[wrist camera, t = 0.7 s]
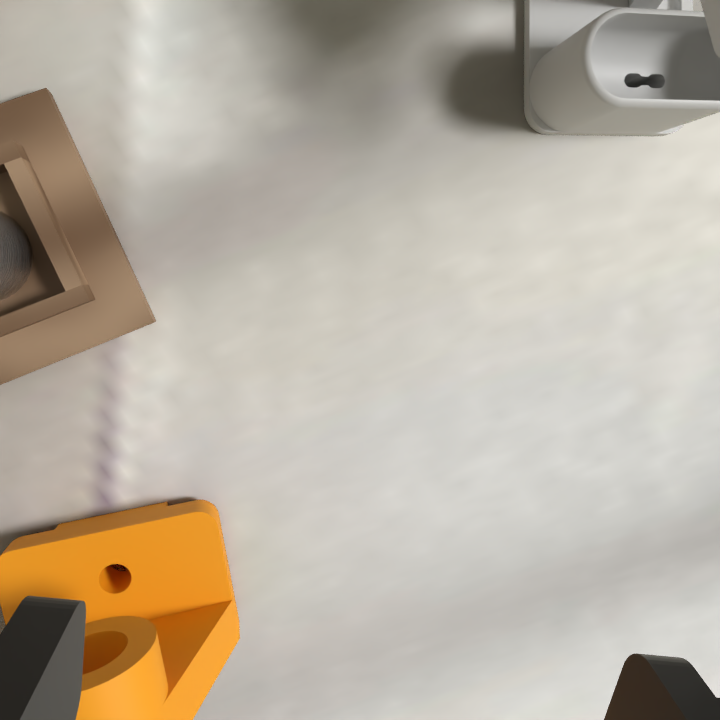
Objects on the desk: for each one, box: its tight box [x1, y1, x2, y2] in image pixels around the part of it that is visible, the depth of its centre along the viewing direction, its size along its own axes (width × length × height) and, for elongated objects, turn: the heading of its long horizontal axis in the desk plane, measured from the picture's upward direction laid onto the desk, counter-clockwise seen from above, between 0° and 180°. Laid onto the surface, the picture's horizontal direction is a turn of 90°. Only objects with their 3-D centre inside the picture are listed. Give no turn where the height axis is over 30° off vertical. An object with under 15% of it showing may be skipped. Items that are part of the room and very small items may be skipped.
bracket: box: [0, 500, 240, 720], centre depth 30 cm, size 11×7×12 cm, turn 99°
